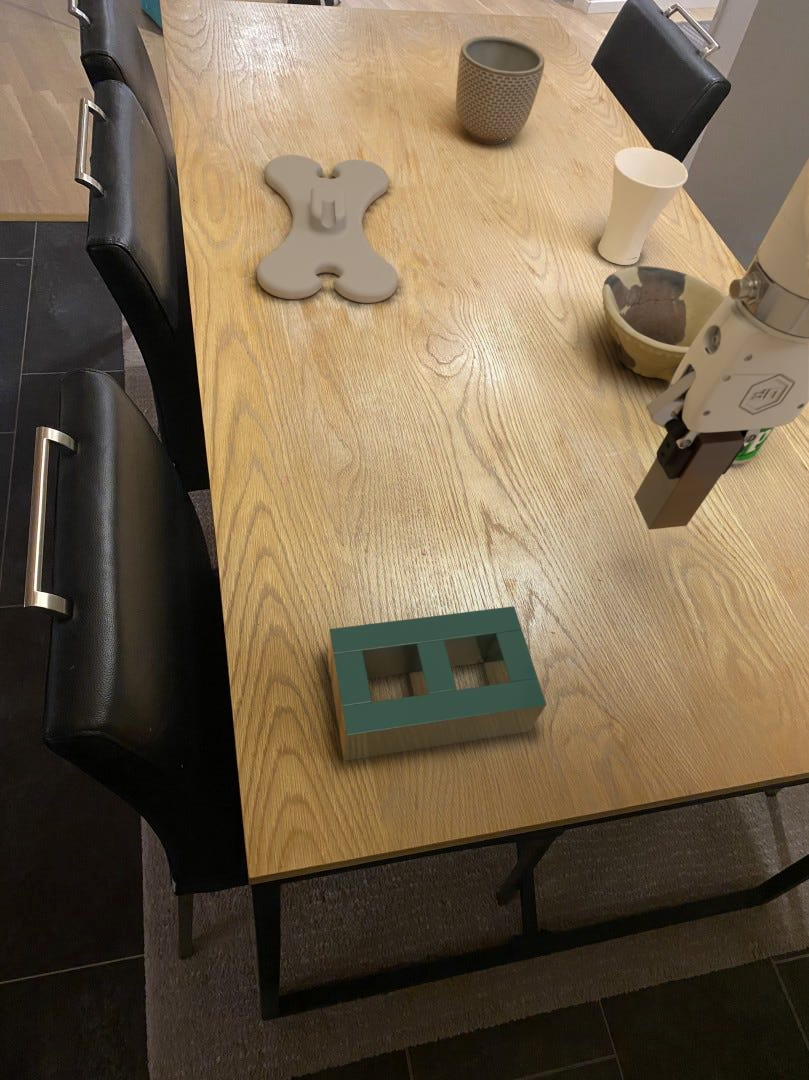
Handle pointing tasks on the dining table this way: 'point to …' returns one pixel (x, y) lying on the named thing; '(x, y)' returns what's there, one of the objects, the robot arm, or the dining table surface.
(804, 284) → the robot arm
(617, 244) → the cup
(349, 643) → the stand
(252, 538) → the dining table surface
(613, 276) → the bowl
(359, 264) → the holder
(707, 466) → the peg
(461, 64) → the planter
